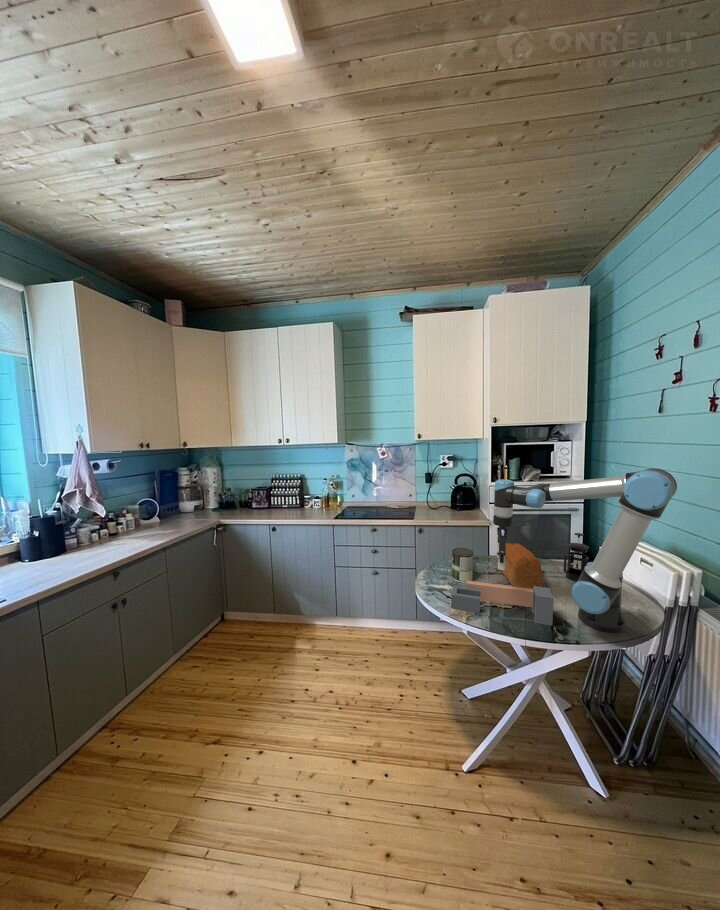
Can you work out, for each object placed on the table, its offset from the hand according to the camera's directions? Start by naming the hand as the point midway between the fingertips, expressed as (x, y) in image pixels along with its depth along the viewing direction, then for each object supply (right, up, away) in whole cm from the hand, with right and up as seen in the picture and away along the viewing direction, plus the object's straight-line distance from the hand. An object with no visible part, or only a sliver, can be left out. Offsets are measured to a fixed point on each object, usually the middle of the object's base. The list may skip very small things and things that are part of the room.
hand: (500, 563), depth 153 cm
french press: (+48, -15, +25) cm, 56 cm away
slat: (0, -17, +1) cm, 17 cm away
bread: (+19, -15, +25) cm, 35 cm away
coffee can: (-10, -15, +24) cm, 30 cm away
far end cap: (-16, -17, -3) cm, 24 cm away
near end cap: (+12, -18, -12) cm, 25 cm away
